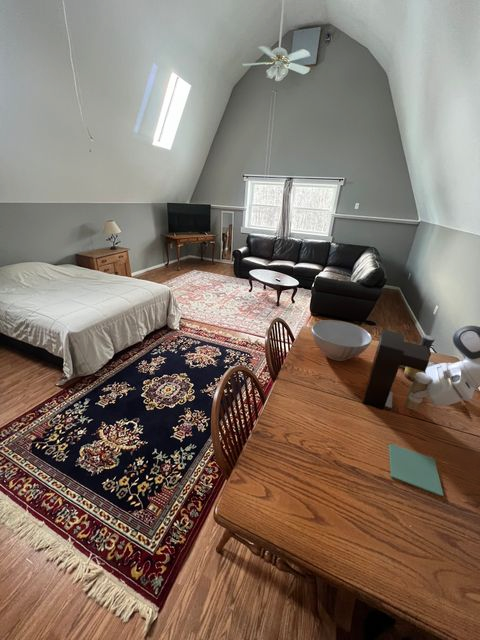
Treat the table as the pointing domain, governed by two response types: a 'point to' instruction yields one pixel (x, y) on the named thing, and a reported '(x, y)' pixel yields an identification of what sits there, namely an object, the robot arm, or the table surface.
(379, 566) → the table surface
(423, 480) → the rubber mat
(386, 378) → the black l-shaped post
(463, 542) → the table surface
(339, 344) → the decorative bowl
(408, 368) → the sauce bottle
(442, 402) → the robot arm
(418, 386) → the sprinkles bottle
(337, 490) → the table surface
